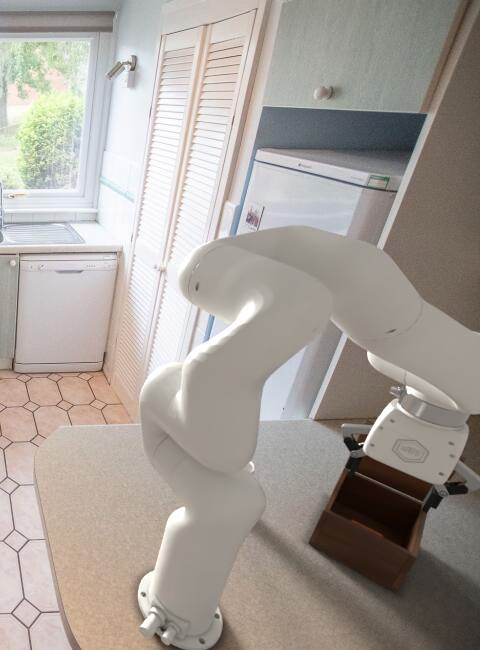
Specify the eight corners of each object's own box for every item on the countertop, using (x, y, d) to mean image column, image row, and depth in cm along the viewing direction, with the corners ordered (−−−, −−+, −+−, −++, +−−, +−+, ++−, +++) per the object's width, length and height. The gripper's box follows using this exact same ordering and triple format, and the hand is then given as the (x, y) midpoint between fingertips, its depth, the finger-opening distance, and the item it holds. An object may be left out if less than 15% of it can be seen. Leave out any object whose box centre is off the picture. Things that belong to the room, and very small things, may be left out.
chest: (395, 592, 76) (417, 558, 73) (307, 543, 85) (323, 509, 81) (409, 538, 86) (429, 505, 82) (329, 499, 94) (344, 467, 91)
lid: (465, 461, 71) (473, 436, 73) (364, 422, 80) (375, 401, 82) (429, 505, 82) (438, 482, 84) (344, 467, 90) (354, 446, 92)
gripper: (357, 390, 72) (319, 471, 80) (516, 448, 61) (456, 536, 68) (366, 374, 77) (330, 452, 84) (516, 424, 65) (459, 510, 73)
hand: (386, 489), depth 76 cm, fingers open, 9 cm apart
